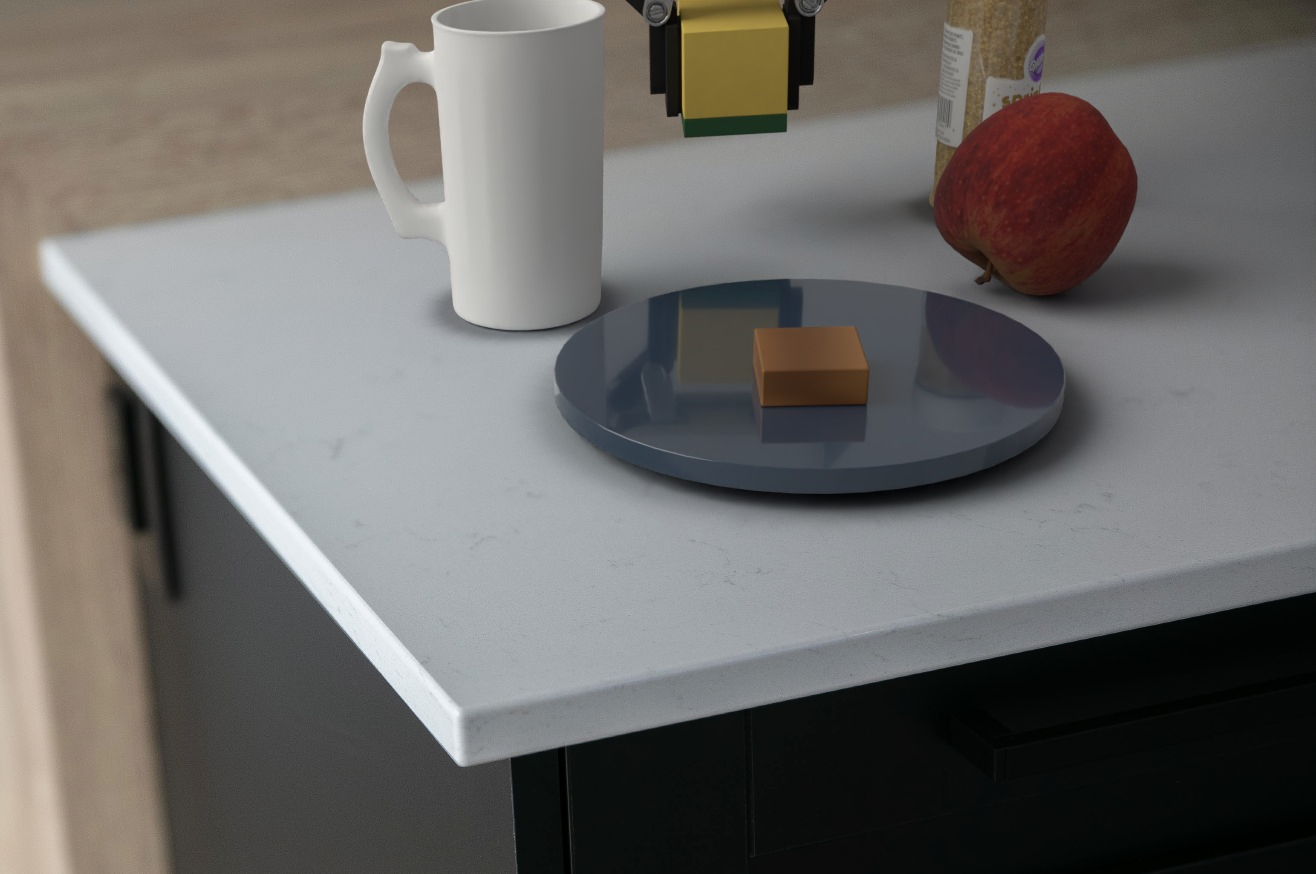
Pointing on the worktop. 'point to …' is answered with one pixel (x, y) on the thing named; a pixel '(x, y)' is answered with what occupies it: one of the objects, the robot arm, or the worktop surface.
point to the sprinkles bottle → (985, 66)
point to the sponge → (733, 67)
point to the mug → (507, 156)
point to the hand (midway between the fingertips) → (730, 102)
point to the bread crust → (810, 366)
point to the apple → (1038, 194)
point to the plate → (809, 437)
